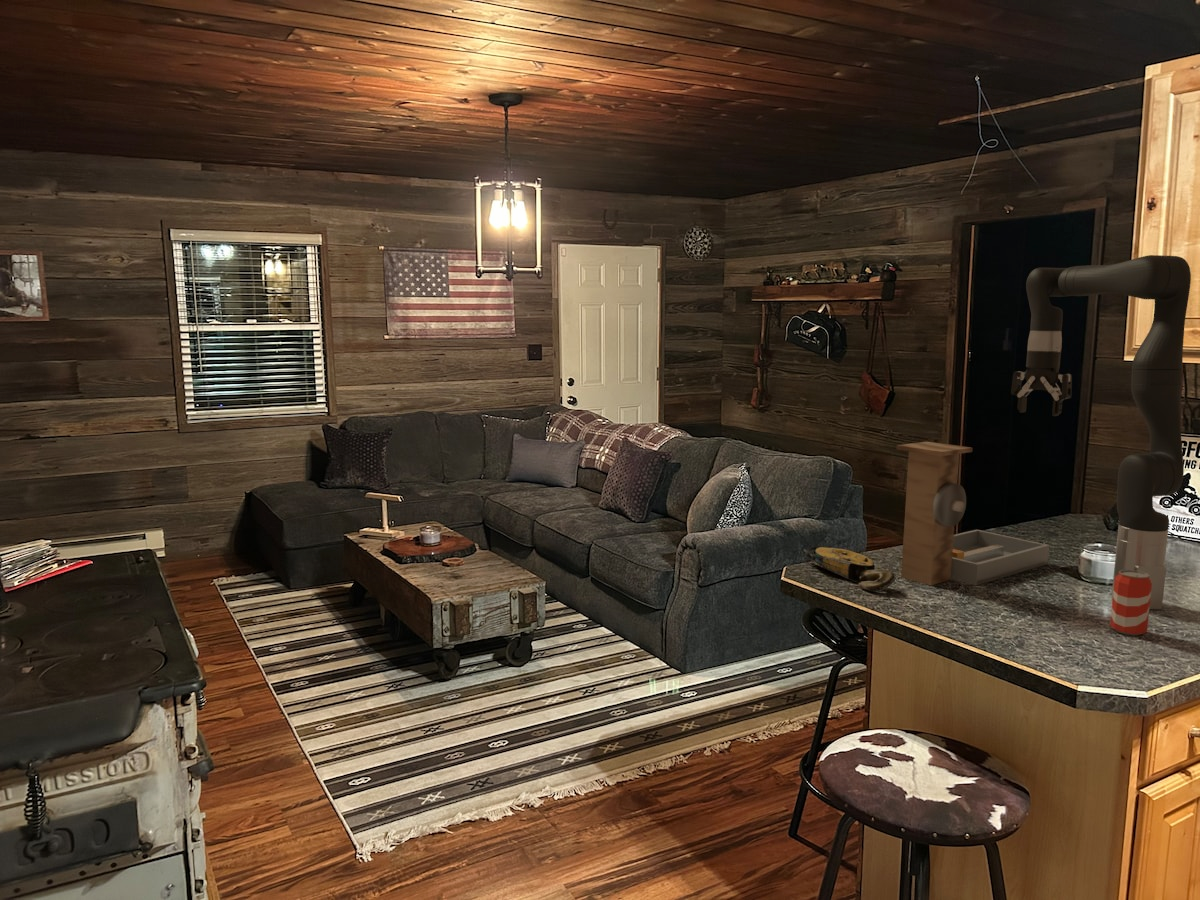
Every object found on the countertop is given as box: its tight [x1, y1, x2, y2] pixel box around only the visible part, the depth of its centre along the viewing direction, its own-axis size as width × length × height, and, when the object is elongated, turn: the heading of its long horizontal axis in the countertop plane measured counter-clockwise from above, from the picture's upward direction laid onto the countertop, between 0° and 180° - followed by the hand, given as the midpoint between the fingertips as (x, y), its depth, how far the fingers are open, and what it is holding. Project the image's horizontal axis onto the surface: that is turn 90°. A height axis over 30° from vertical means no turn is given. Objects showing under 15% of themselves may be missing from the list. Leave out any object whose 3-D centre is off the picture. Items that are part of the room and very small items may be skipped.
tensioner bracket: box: [896, 441, 974, 586], centre depth 208 cm, size 12×14×32 cm
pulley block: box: [803, 545, 898, 592], centre depth 212 cm, size 14×6×30 cm
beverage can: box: [1109, 570, 1152, 636], centre depth 175 cm, size 6×6×12 cm
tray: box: [951, 529, 1050, 586], centre depth 223 cm, size 32×20×5 cm, turn 125°
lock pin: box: [952, 545, 1005, 563], centre depth 223 cm, size 22×4×4 cm, turn 124°
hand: (1038, 414), depth 222 cm, fingers open, 8 cm apart
